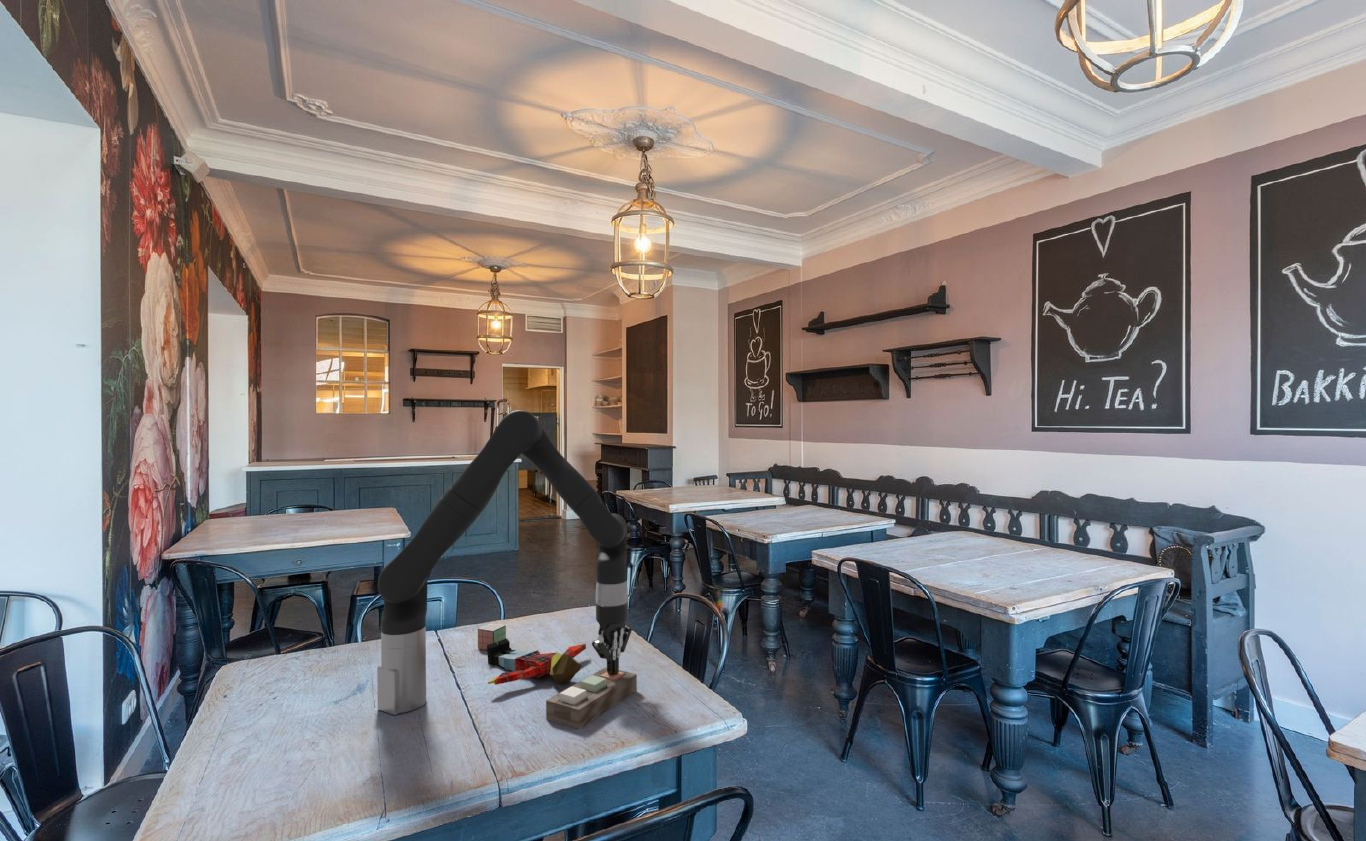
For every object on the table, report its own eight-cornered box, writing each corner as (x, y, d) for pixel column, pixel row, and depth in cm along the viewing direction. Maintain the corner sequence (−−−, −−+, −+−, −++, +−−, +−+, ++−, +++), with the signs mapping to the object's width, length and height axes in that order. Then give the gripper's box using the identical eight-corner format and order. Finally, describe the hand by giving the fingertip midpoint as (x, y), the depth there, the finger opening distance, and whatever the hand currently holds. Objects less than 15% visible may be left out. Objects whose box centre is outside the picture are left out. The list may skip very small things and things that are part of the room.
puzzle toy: (506, 645, 180) (506, 625, 180) (493, 651, 175) (493, 631, 175) (490, 642, 182) (490, 622, 182) (477, 649, 177) (477, 628, 177)
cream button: (574, 711, 132) (574, 697, 132) (559, 707, 134) (559, 693, 134) (586, 703, 136) (586, 690, 136) (572, 700, 138) (571, 686, 138)
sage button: (595, 698, 138) (594, 685, 138) (580, 694, 140) (580, 681, 140) (606, 691, 142) (606, 678, 142) (592, 688, 144) (592, 675, 144)
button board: (579, 729, 130) (578, 709, 130) (546, 719, 134) (546, 700, 134) (636, 691, 148) (636, 674, 148) (606, 683, 152) (606, 666, 152)
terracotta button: (614, 691, 144) (614, 678, 144) (600, 688, 146) (600, 675, 146) (624, 685, 148) (624, 672, 148) (610, 682, 150) (610, 669, 150)
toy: (447, 690, 156) (524, 710, 138) (445, 659, 157) (521, 674, 139) (543, 653, 181) (620, 666, 163) (541, 626, 181) (617, 636, 163)
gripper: (615, 591, 155) (616, 661, 155) (581, 605, 143) (582, 681, 143) (640, 595, 151) (642, 667, 151) (607, 609, 140) (608, 687, 140)
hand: (612, 673), depth 147 cm, fingers closed
